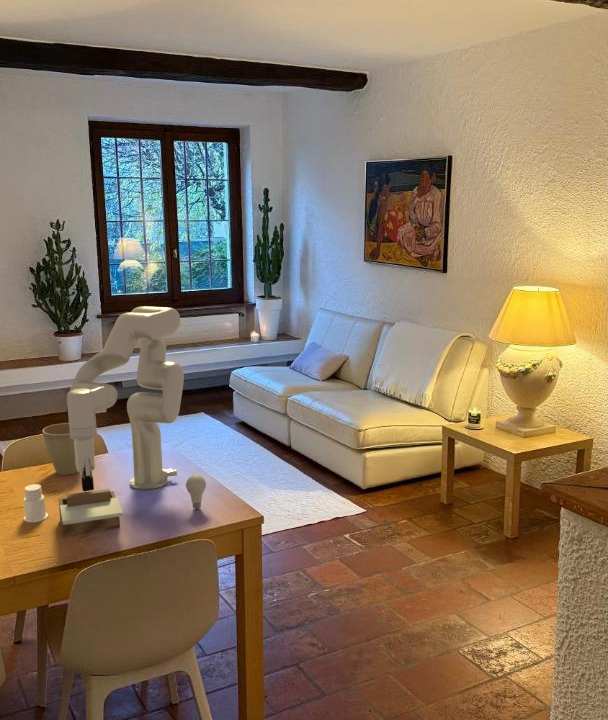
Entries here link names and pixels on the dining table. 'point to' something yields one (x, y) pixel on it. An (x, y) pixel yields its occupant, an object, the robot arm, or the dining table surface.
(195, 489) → the lightbulb
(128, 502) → the dining table surface
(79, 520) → the toolbox lid
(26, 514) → the downlight
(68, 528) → the toolbox
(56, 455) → the plant pot
